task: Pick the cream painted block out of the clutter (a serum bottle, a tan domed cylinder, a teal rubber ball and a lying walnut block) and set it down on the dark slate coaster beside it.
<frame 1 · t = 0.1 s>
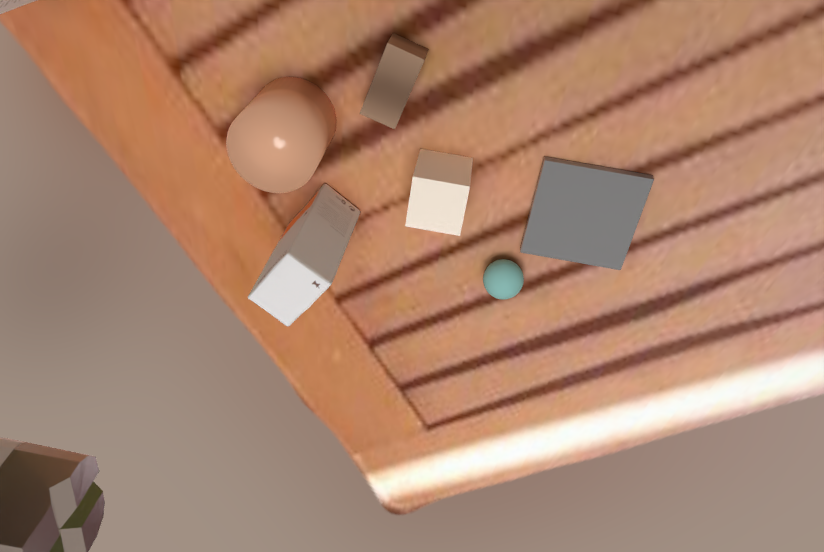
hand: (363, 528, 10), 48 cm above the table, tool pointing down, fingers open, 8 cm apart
slate coaster: (583, 213, 60), on the table
tan domed cylinder: (295, 117, 58), on the table
cream block: (442, 176, 60), on the table
skincare box: (324, 216, 63), on the table
teal ball: (503, 268, 64), on the table
walnut block: (396, 75, 55), on the table
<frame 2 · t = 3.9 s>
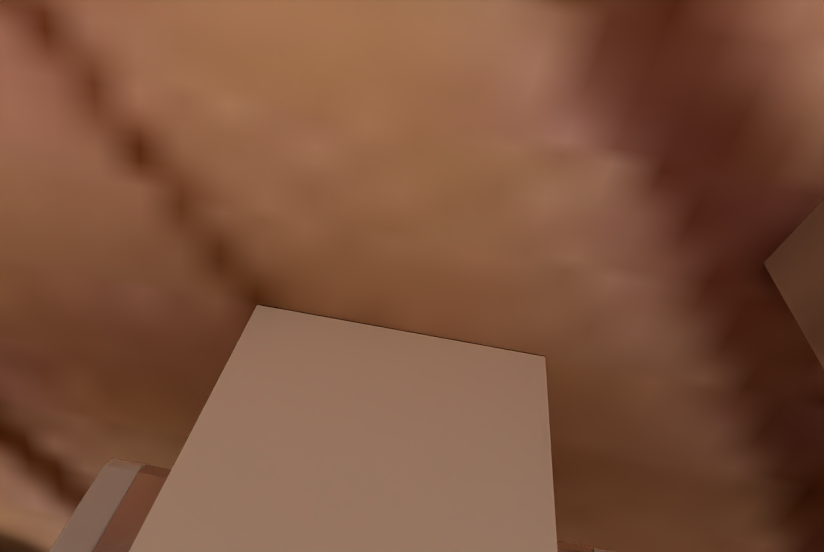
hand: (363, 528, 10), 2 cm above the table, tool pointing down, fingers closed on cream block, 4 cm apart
cream block: (384, 432, 12), on the table, touching gripper
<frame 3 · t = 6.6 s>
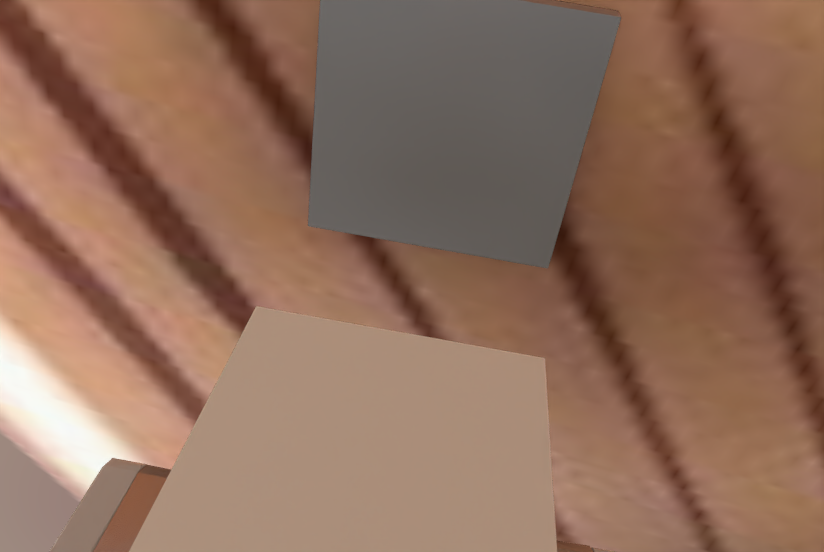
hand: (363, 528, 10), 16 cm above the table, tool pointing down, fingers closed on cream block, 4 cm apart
slate coaster: (448, 124, 24), on the table
cream block: (383, 433, 12), point 14 cm above the table, touching gripper
when the fingers open (4 cm above the table, at t = 9.0 s): cream block drops 2 cm, resting on slate coaster.
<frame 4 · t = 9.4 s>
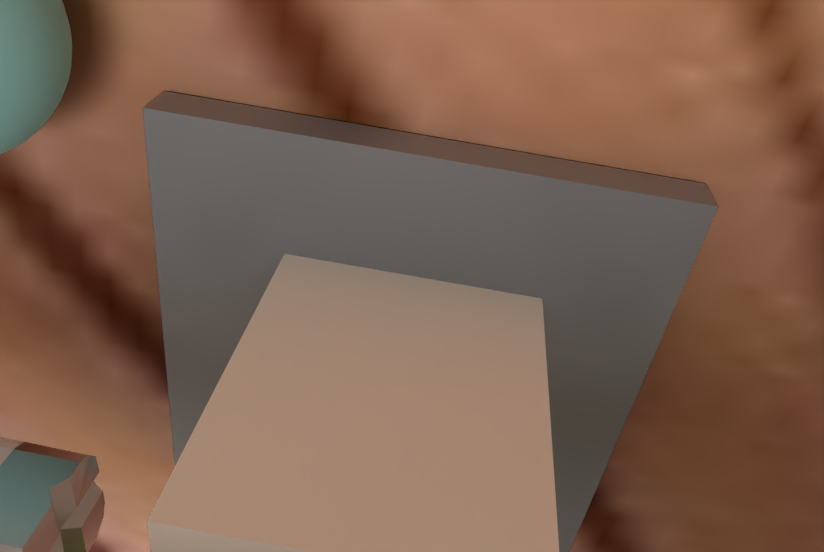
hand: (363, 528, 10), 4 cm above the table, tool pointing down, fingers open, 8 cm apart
slate coaster: (399, 346, 14), on the table
cream block: (397, 372, 13), point 1 cm above the table, touching slate coaster
teal ball: (5, 2, 11), on the table
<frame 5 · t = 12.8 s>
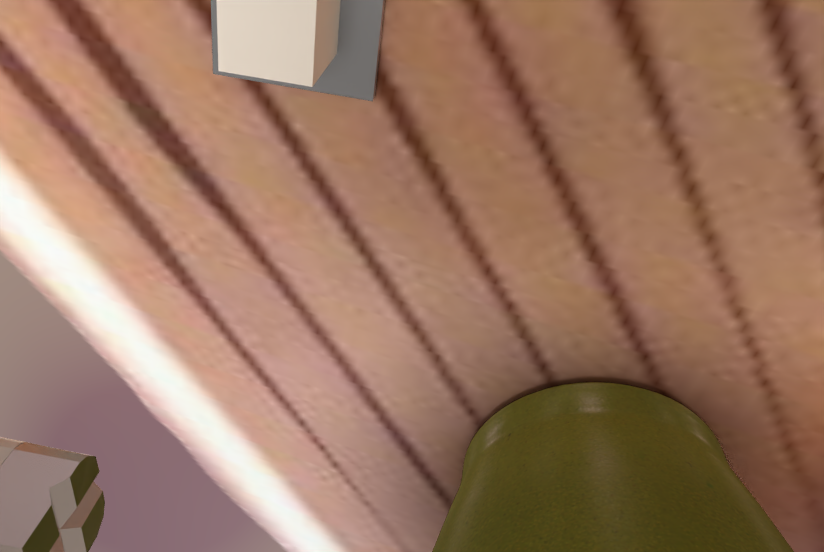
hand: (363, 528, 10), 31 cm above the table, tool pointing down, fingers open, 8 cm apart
cream block: (297, 2, 36), point 1 cm above the table, touching slate coaster
plant pot: (591, 464, 53), on the table
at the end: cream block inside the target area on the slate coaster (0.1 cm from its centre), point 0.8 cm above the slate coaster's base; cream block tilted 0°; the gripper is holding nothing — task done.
